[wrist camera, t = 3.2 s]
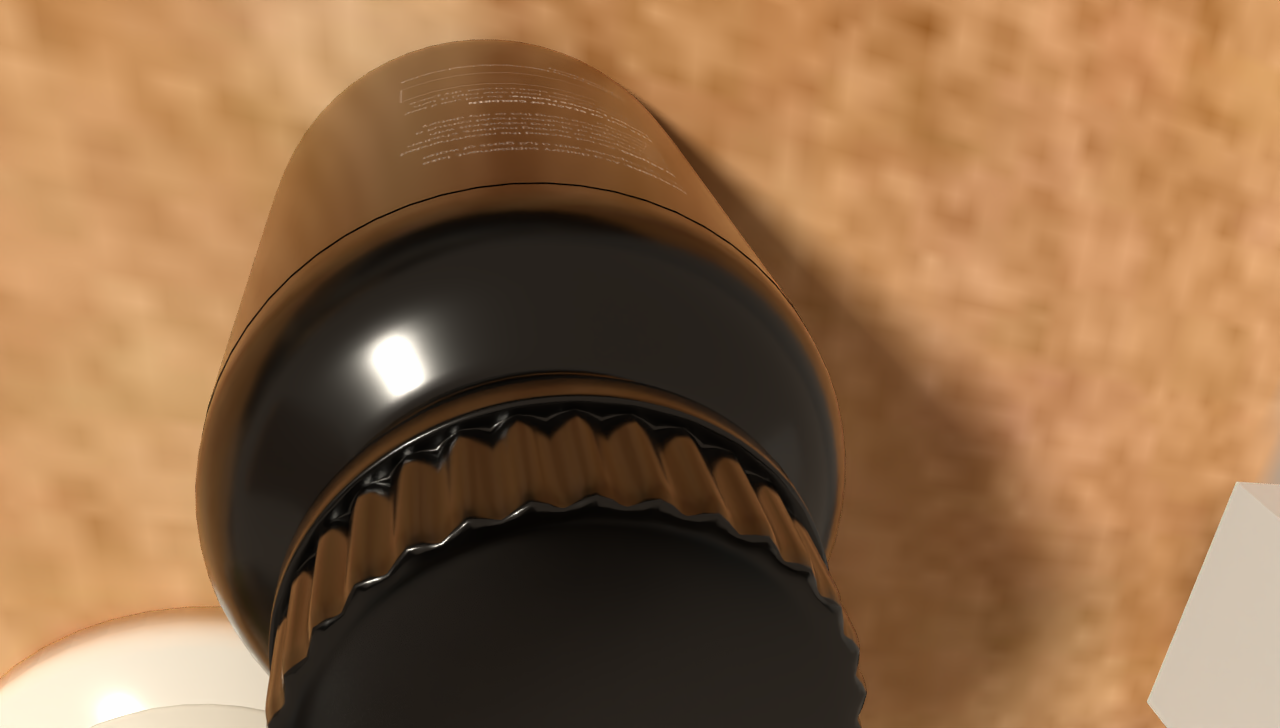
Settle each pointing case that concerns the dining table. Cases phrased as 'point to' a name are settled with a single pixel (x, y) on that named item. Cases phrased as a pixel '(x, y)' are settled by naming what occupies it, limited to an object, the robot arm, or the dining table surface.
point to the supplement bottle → (521, 425)
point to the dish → (140, 676)
